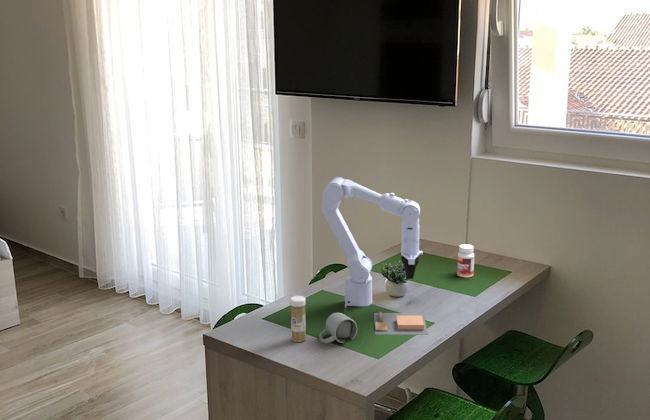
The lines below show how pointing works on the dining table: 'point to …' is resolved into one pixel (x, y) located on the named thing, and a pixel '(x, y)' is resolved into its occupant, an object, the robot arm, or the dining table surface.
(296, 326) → the sprinkles bottle
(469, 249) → the pill bottle
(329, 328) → the ceramic mug
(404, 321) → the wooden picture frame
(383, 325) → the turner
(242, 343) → the dining table surface
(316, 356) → the dining table surface
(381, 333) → the mat
